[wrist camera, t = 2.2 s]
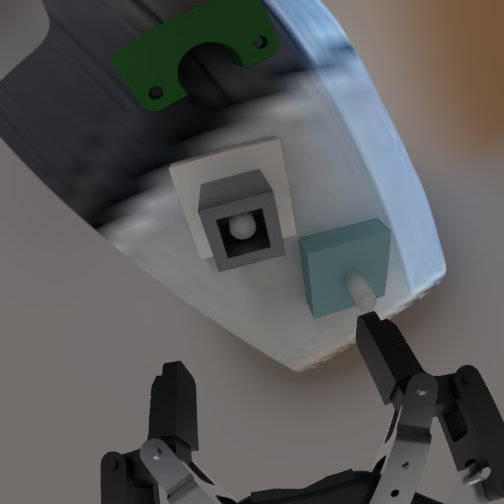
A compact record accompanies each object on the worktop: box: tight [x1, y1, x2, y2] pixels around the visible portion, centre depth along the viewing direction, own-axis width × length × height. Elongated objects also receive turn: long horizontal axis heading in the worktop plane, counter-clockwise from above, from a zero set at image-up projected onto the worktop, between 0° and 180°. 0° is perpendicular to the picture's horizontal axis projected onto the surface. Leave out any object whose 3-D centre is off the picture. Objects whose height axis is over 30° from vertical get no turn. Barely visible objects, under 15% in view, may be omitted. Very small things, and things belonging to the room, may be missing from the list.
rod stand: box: [169, 137, 297, 260], centre depth 24 cm, size 10×10×6 cm
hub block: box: [299, 218, 391, 318], centre depth 29 cm, size 10×10×8 cm
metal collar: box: [198, 169, 286, 272], centre depth 23 cm, size 5×5×6 cm
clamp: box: [108, 0, 279, 111], centre depth 16 cm, size 12×6×9 cm, turn 109°
